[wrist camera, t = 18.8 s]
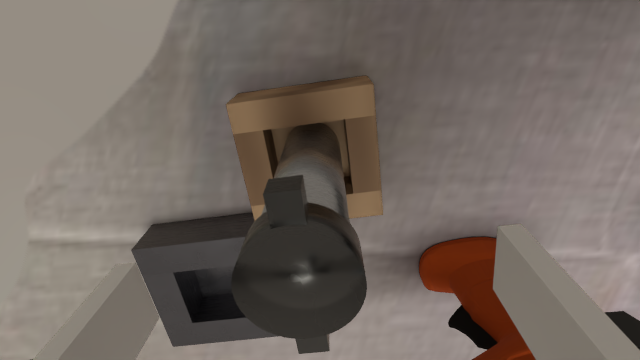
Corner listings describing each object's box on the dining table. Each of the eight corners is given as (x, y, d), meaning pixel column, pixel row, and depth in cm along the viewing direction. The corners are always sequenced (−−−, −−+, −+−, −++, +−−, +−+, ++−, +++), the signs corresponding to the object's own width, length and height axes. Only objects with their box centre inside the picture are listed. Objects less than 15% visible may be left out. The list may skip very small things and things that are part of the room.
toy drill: (286, 279, 30) (297, 493, 16) (500, 224, 30) (692, 385, 16) (299, 321, 31) (320, 545, 18) (500, 269, 32) (671, 447, 18)
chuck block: (271, 210, 28) (265, 234, 25) (292, 304, 33) (288, 335, 29) (152, 224, 29) (131, 250, 26) (187, 315, 33) (173, 346, 30)
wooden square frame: (366, 75, 24) (373, 83, 21) (375, 192, 28) (383, 214, 25) (238, 93, 25) (225, 104, 21) (263, 205, 28) (256, 229, 25)
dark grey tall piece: (272, 105, 24) (206, 206, 11) (338, 96, 24) (356, 188, 10) (289, 194, 27) (254, 366, 14) (348, 187, 27) (374, 356, 13)
